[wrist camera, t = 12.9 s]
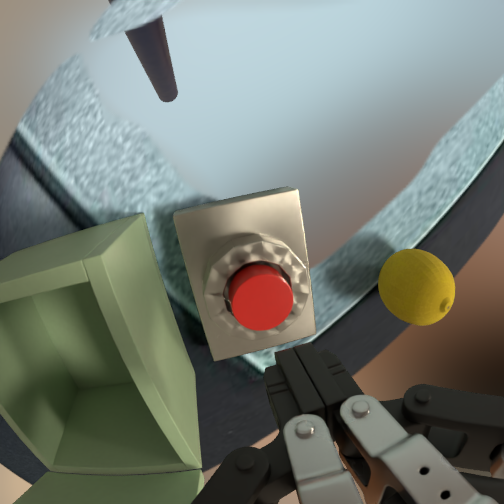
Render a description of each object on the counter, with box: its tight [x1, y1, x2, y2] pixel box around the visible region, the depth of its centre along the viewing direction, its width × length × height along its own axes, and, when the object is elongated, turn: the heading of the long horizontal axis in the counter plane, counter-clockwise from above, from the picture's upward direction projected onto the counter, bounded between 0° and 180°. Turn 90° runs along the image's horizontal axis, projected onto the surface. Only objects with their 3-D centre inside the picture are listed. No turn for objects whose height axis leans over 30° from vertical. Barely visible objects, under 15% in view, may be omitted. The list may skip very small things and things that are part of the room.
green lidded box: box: [0, 213, 202, 474], centre depth 16 cm, size 14×12×10 cm
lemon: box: [378, 249, 455, 326], centre depth 21 cm, size 6×6×8 cm
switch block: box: [173, 187, 316, 361], centre depth 20 cm, size 11×8×4 cm
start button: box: [228, 265, 293, 331], centre depth 18 cm, size 4×4×2 cm
